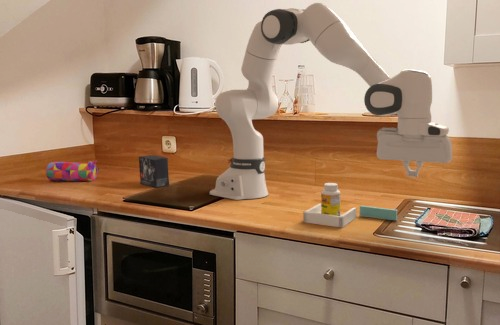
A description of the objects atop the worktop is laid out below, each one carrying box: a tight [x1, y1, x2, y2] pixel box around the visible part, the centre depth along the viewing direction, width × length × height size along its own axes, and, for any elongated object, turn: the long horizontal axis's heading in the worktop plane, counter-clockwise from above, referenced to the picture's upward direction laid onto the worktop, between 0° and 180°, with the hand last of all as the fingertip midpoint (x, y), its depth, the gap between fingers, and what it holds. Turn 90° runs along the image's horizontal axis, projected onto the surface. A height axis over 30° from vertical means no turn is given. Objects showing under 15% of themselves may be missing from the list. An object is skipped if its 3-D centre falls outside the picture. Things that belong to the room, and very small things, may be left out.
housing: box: [302, 203, 358, 229], centre depth 138 cm, size 12×12×3 cm
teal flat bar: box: [359, 205, 398, 221], centre depth 138 cm, size 11×1×3 cm, turn 58°
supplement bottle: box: [320, 182, 341, 216], centre depth 137 cm, size 6×6×10 cm
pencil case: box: [45, 160, 100, 182], centre depth 207 cm, size 22×9×9 cm, turn 89°
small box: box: [138, 154, 170, 189], centre depth 194 cm, size 13×7×12 cm, turn 42°
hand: (412, 176), depth 131 cm, fingers closed
